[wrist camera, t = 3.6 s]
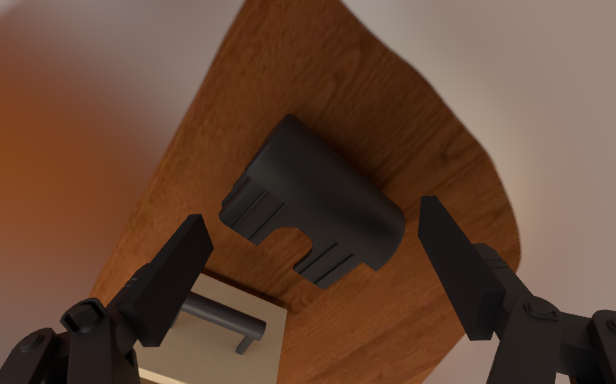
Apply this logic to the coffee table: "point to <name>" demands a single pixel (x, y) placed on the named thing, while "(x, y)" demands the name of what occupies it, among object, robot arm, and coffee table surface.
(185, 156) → the coffee table surface
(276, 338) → the drawer
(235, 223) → the end cap
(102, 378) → the robot arm
